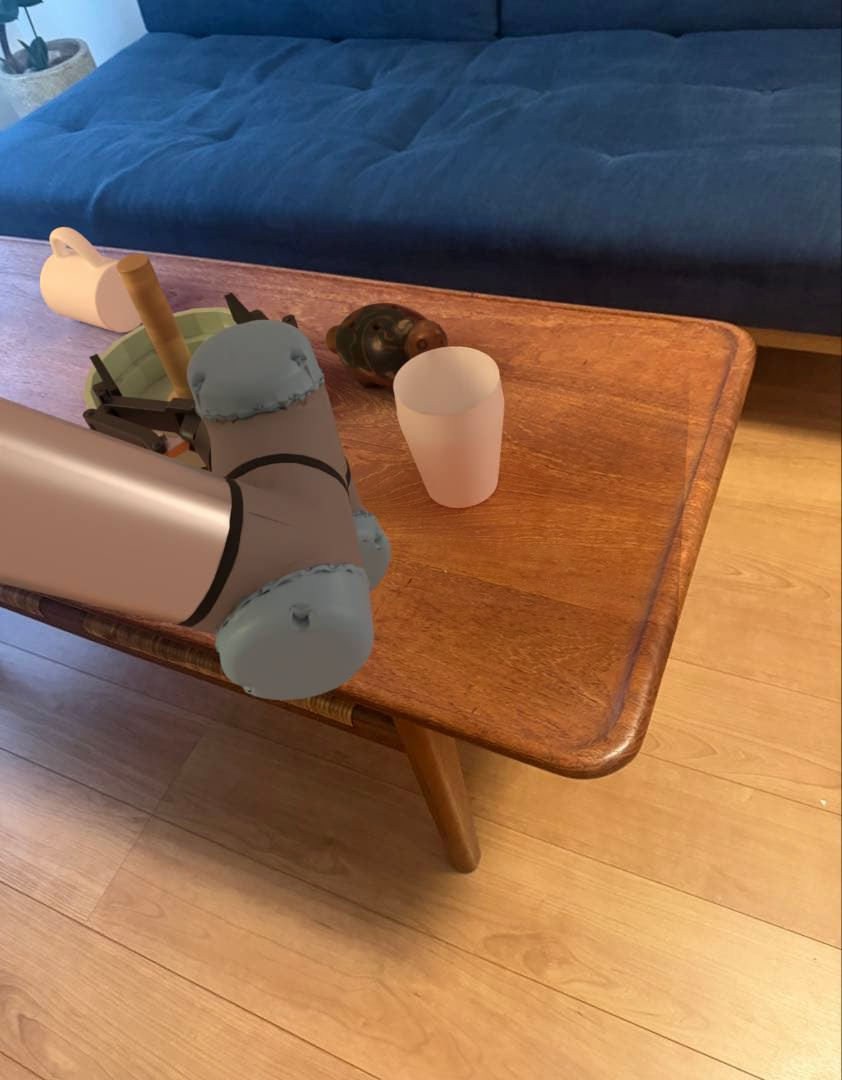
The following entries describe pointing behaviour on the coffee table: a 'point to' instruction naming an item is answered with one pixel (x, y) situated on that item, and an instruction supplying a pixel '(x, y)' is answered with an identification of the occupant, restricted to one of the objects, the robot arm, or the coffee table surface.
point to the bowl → (155, 362)
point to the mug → (86, 284)
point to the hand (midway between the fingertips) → (167, 335)
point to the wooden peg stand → (157, 320)
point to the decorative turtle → (383, 341)
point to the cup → (452, 422)
